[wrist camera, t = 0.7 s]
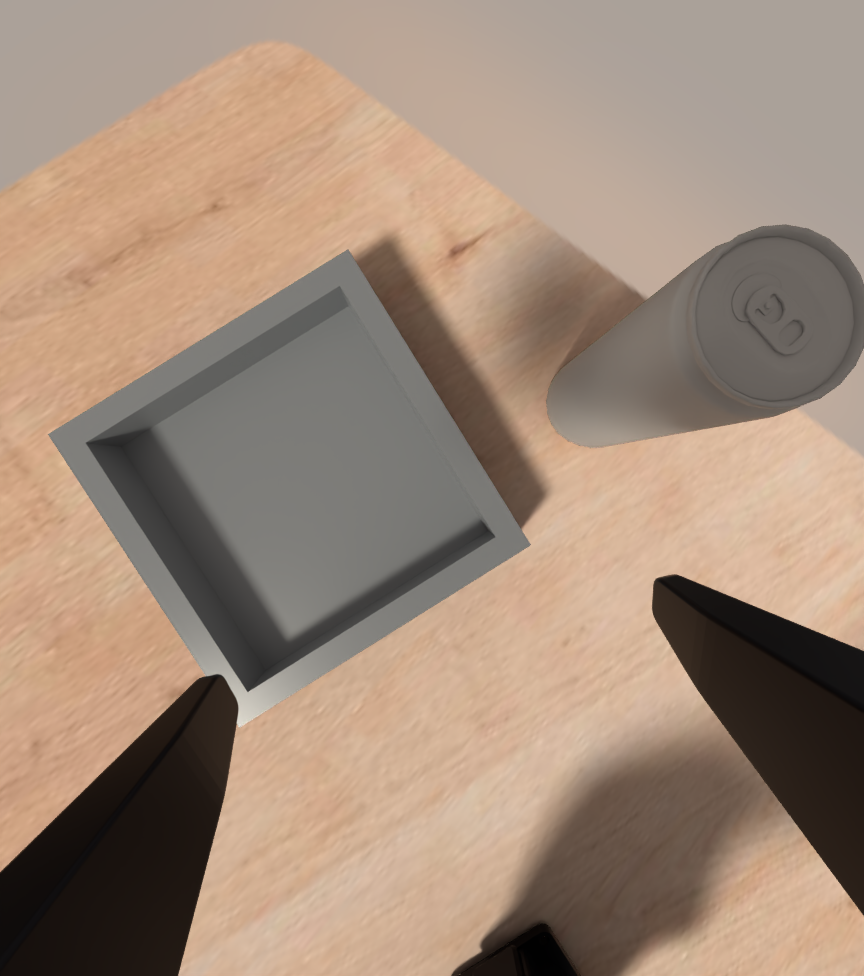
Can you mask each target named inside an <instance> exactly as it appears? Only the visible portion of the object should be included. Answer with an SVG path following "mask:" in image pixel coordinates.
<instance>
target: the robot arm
mask: <svg viewBox="0 0 864 976" xmlns="http://www.w3.org/2000/svg"><path fill="white" fill-rule="evenodd" d="M652 611H653V615H654V618H655V620H656V622H657V624H658V625H659V627H660V629H661V630H662V632H663V634H664V635H665V637H666V639H667V640H668V642H669V644H670V645H671V647H672V649H673V650H674V652H675V654H676V655H677V657H678V659H679V660H680V662H681V664H682V665H683V667H684V669H685V670H686V672H687V674H688V675H689V677H690V679H691V680H692V682H693V683H694V685H695V687H696V688H697V690H698V691H699V693H700V694H701V695H702V697H703V698H704V700H705V701H706V702H707V704H708V705H709V706H710V708H711V709H712V711H713V712H714V713H715V715H716V716H717V717H718V719H719V720H720V721H721V723H722V724H723V725H724V727H725V728H726V730H727V731H728V732H729V734H730V735H731V736H732V738H733V739H734V740H735V742H736V743H737V744H738V746H739V747H740V749H741V750H742V751H743V753H744V754H745V755H746V757H747V758H748V759H749V761H750V762H751V763H752V765H753V766H754V768H755V769H756V770H757V772H758V773H759V774H760V776H761V777H762V778H763V780H764V781H765V782H766V784H767V785H768V787H769V788H770V789H771V791H772V792H773V793H774V795H775V796H776V797H777V799H778V800H779V801H780V803H781V804H782V806H783V807H784V808H785V810H786V811H787V812H788V814H789V815H790V816H791V818H792V819H793V820H794V822H795V823H796V825H797V826H798V827H799V829H800V830H801V831H802V833H803V834H804V835H805V837H806V838H807V839H808V841H809V842H810V844H811V845H812V846H813V848H814V849H815V850H816V852H817V853H818V854H819V856H820V857H821V858H822V860H823V861H824V863H825V864H826V865H827V867H828V868H829V869H830V871H831V872H832V873H833V875H834V876H835V877H836V879H837V880H838V882H839V883H840V884H841V886H842V887H843V888H844V890H845V891H846V892H847V894H848V895H849V896H850V898H851V899H852V901H853V902H854V903H855V905H856V906H857V907H858V909H859V910H860V911H861V913H862V914H863V915H864V651H862V650H860V649H858V648H855V647H853V646H850V645H848V644H845V643H843V642H840V641H838V640H836V639H833V638H831V637H828V636H826V635H823V634H821V633H819V632H816V631H814V630H811V629H809V628H806V627H804V626H801V625H799V624H797V623H794V622H792V621H789V620H787V619H784V618H782V617H780V616H777V615H775V614H772V613H770V612H767V611H765V610H762V609H760V608H758V607H755V606H753V605H750V604H748V603H745V602H743V601H740V600H738V599H736V598H733V597H731V596H728V595H726V594H723V593H721V592H719V591H716V590H714V589H711V588H709V587H706V586H704V585H701V584H699V583H697V582H694V581H692V580H689V579H687V578H684V577H682V576H679V575H675V574H674V575H668V576H663V577H659V578H657V579H656V580H655V581H654V585H653V601H652ZM238 711H239V707H238V702H237V699H236V697H235V695H234V694H233V692H232V690H231V688H230V687H229V685H228V683H227V681H226V679H225V678H224V676H222V675H221V674H215V675H210V676H206V677H202V678H199V679H198V680H196V681H195V682H194V683H193V684H192V685H191V686H190V687H189V688H188V689H187V690H186V691H185V692H184V693H183V694H182V695H181V696H180V697H179V698H178V699H177V700H176V701H175V702H174V703H173V704H172V705H171V706H170V707H169V708H168V709H167V710H166V711H165V712H164V713H163V714H162V715H161V716H159V717H158V718H157V719H156V720H155V721H154V722H153V723H152V724H151V725H150V726H149V727H148V728H147V729H146V730H145V731H144V732H143V733H142V734H141V735H140V736H139V737H138V738H137V739H136V740H135V741H134V742H133V743H132V744H131V745H130V746H129V747H128V748H127V749H126V750H125V751H124V752H123V753H122V754H121V755H120V756H119V757H118V758H117V759H116V760H115V761H114V762H112V763H111V764H110V765H109V766H108V767H107V768H106V769H105V770H104V771H103V772H102V773H101V774H100V775H99V776H98V777H97V778H96V779H95V780H94V781H93V782H92V783H91V784H90V785H89V786H88V787H87V788H86V789H85V790H84V791H83V792H82V793H81V794H80V795H79V796H78V797H77V798H76V799H75V800H74V801H73V802H72V803H71V804H70V805H69V806H67V807H66V808H65V809H64V810H63V811H62V812H61V813H60V814H59V815H58V816H57V817H56V818H55V819H54V820H53V821H52V822H51V823H50V824H49V825H48V826H47V827H46V828H45V829H44V830H43V831H42V832H41V833H40V834H39V835H38V836H37V837H36V838H35V839H34V840H33V841H32V842H31V843H30V844H29V845H28V846H27V847H26V848H25V849H23V850H22V851H21V852H20V853H19V854H18V855H17V856H16V857H15V858H14V859H13V860H12V861H11V862H10V863H9V864H8V865H7V866H6V867H5V868H4V869H3V870H2V871H1V872H0V976H178V974H179V970H180V966H181V962H182V958H183V955H184V951H185V947H186V943H187V939H188V935H189V931H190V928H191V924H192V920H193V916H194V912H195V908H196V905H197V901H198V897H199V893H200V889H201V885H202V882H203V878H204V874H205V870H206V866H207V862H208V858H209V855H210V851H211V847H212V843H213V839H214V835H215V832H216V828H217V824H218V820H219V816H220V812H221V808H222V804H223V800H224V796H225V791H226V786H227V780H228V774H229V768H230V762H231V755H232V749H233V743H234V737H235V731H236V725H237V718H238ZM543 936H545V937H543ZM458 976H581V975H580V974H579V972H578V971H577V969H576V968H575V966H574V964H573V963H572V961H571V960H570V958H569V957H568V955H567V953H566V952H565V950H564V949H563V947H562V946H561V944H560V942H559V941H558V939H557V938H556V936H555V935H554V933H553V931H552V930H551V928H550V927H549V926H548V925H546V924H539V925H537V926H535V927H534V928H532V929H531V930H529V931H528V932H526V933H524V934H523V935H521V936H520V937H518V938H517V939H515V940H513V941H512V942H510V943H509V944H507V945H505V946H504V947H502V948H501V949H499V950H498V951H496V952H494V953H493V954H491V955H490V956H488V957H487V958H485V959H483V960H482V961H480V962H479V963H477V964H476V965H474V966H472V967H471V968H469V969H468V970H466V971H465V972H463V973H461V974H460V975H458Z"/></svg>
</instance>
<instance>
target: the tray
mask: <svg viewBox="0 0 864 976" xmlns="http://www.w3.org/2000/svg"><path fill="white" fill-rule="evenodd" d="M48 435H49V436H50V438H51V440H52V441H53V443H54V444H55V446H56V447H57V449H58V450H59V452H60V453H61V455H62V456H63V458H64V459H65V461H66V463H67V464H68V466H69V467H70V469H71V470H72V472H73V473H74V475H75V476H76V478H77V479H78V481H79V482H80V484H81V486H82V487H83V489H84V490H85V492H86V493H87V495H88V496H89V498H90V499H91V501H92V502H93V504H94V505H95V507H96V508H97V510H98V512H99V513H100V515H101V516H102V518H103V519H104V521H105V522H106V524H107V525H108V527H109V528H110V530H111V531H112V533H113V535H114V536H115V538H116V539H117V541H118V542H119V544H120V545H121V547H122V548H123V550H124V551H125V553H126V554H127V556H128V558H129V559H130V561H131V562H132V564H133V565H134V567H135V568H136V570H137V571H138V573H139V574H140V576H141V577H142V579H143V580H144V582H145V584H146V585H147V587H148V588H149V590H150V591H151V593H152V594H153V596H154V597H155V599H156V600H157V602H158V603H159V605H160V607H161V608H162V610H163V611H164V613H165V614H166V616H167V617H168V619H169V620H170V622H171V623H172V625H173V626H174V628H175V629H176V631H177V633H178V634H179V636H180V637H181V639H182V640H183V642H184V643H185V645H186V646H187V648H188V649H189V651H190V652H191V654H192V656H193V657H194V659H195V660H196V662H197V663H198V665H199V666H200V668H201V669H202V671H203V672H204V674H205V675H206V676H210V675H215V674H221V675H222V676H224V678H225V679H226V681H227V683H228V685H229V687H230V688H231V690H232V692H233V694H234V695H235V697H236V699H237V702H238V707H239V711H238V718H237V724H238V726H239V728H240V727H241V726H243V725H244V724H246V723H248V722H249V721H251V720H252V719H254V718H256V717H257V716H259V715H260V714H262V713H264V712H265V711H267V710H268V709H270V708H272V707H273V706H275V705H276V704H278V703H280V702H281V701H283V700H284V699H286V698H288V697H289V696H291V695H292V694H294V693H296V692H297V691H299V690H300V689H302V688H304V687H305V686H307V685H308V684H310V683H311V682H313V681H315V680H316V679H318V678H319V677H321V676H323V675H324V674H326V673H327V672H329V671H331V670H332V669H334V668H335V667H337V666H339V665H340V664H342V663H343V662H345V661H347V660H348V659H350V658H351V657H353V656H355V655H356V654H358V653H359V652H361V651H363V650H364V649H366V648H367V647H369V646H371V645H372V644H374V643H375V642H377V641H379V640H380V639H382V638H383V637H385V636H386V635H388V634H390V633H391V632H393V631H394V630H396V629H398V628H399V627H401V626H402V625H404V624H406V623H407V622H409V621H410V620H412V619H414V618H415V617H417V616H418V615H420V614H422V613H423V612H425V611H426V610H428V609H430V608H431V607H433V606H434V605H436V604H438V603H439V602H441V601H442V600H444V599H446V598H447V597H449V596H450V595H452V594H454V593H455V592H457V591H458V590H460V589H461V588H463V587H465V586H466V585H468V584H469V583H471V582H473V581H474V580H476V579H477V578H479V577H481V576H482V575H484V574H485V573H487V572H489V571H490V570H492V569H493V568H495V567H497V566H498V565H500V564H501V563H503V562H505V561H506V560H508V559H509V558H511V557H513V556H514V555H516V554H517V553H519V552H521V551H522V550H524V549H525V548H527V547H529V546H530V545H531V544H530V543H529V541H528V540H527V538H526V536H525V535H524V533H523V532H522V530H521V528H520V527H519V525H518V523H517V522H516V520H515V519H514V517H513V515H512V514H511V512H510V510H509V509H508V507H507V506H506V504H505V502H504V501H503V499H502V498H501V496H500V494H499V493H498V491H497V489H496V488H495V486H494V485H493V483H492V481H491V480H490V478H489V477H488V475H487V473H486V472H485V470H484V468H483V467H482V465H481V464H480V462H479V460H478V459H477V457H476V455H475V454H474V452H473V451H472V449H471V447H470V446H469V444H468V443H467V441H466V439H465V438H464V436H463V434H462V433H461V431H460V430H459V428H458V426H457V425H456V423H455V422H454V420H453V418H452V417H451V415H450V413H449V412H448V410H447V409H446V407H445V405H444V404H443V402H442V400H441V399H440V397H439V396H438V394H437V392H436V391H435V389H434V388H433V386H432V384H431V383H430V381H429V379H428V378H427V376H426V375H425V373H424V371H423V370H422V368H421V366H420V365H419V363H418V362H417V360H416V358H415V357H414V355H413V354H412V352H411V350H410V349H409V347H408V345H407V344H406V342H405V341H404V339H403V337H402V336H401V334H400V333H399V331H398V329H397V328H396V326H395V324H394V323H393V321H392V320H391V318H390V316H389V315H388V313H387V311H386V310H385V308H384V307H383V305H382V303H381V302H380V300H379V299H378V297H377V295H376V294H375V292H374V290H373V289H372V287H371V286H370V284H369V282H368V281H367V279H366V278H365V276H364V274H363V273H362V271H361V269H360V268H359V266H358V265H357V263H356V261H355V260H354V258H353V256H352V255H351V253H350V252H349V250H346V251H345V252H343V253H341V254H340V255H338V256H336V257H335V258H333V259H332V260H330V261H328V262H327V263H325V264H323V265H322V266H320V267H319V268H317V269H315V270H314V271H312V272H311V273H309V274H307V275H306V276H304V277H302V278H301V279H299V280H298V281H296V282H294V283H293V284H291V285H289V286H288V287H286V288H285V289H283V290H281V291H280V292H278V293H276V294H275V295H273V296H272V297H270V298H268V299H267V300H265V301H263V302H262V303H260V304H259V305H257V306H255V307H254V308H252V309H251V310H249V311H247V312H246V313H244V314H242V315H241V316H239V317H238V318H236V319H234V320H233V321H231V322H229V323H228V324H226V325H225V326H223V327H221V328H220V329H218V330H216V331H215V332H213V333H212V334H210V335H208V336H207V337H205V338H203V339H202V340H200V341H199V342H197V343H195V344H194V345H192V346H191V347H189V348H187V349H186V350H184V351H182V352H181V353H179V354H178V355H176V356H174V357H173V358H171V359H169V360H168V361H166V362H165V363H163V364H161V365H160V366H158V367H156V368H155V369H153V370H152V371H150V372H148V373H147V374H145V375H143V376H142V377H140V378H139V379H137V380H135V381H134V382H132V383H131V384H129V385H127V386H126V387H124V388H122V389H121V390H119V391H118V392H116V393H114V394H113V395H111V396H109V397H108V398H106V399H105V400H103V401H101V402H100V403H98V404H96V405H95V406H93V407H92V408H90V409H88V410H87V411H85V412H83V413H82V414H80V415H79V416H77V417H75V418H74V419H72V420H71V421H69V422H67V423H66V424H64V425H62V426H61V427H59V428H58V429H56V430H54V431H53V432H51V433H49V434H48Z"/></svg>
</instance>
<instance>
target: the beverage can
mask: <svg viewBox="0 0 864 976" xmlns="http://www.w3.org/2000/svg"><path fill="white" fill-rule="evenodd" d="M863 348H864V284H863V281H862V278H861V275H860V274H859V272H858V270H857V269H856V267H855V266H854V264H853V263H852V261H851V260H850V258H849V257H848V255H847V254H846V253H845V252H844V251H842V250H841V249H840V248H839V247H838V246H837V245H836V244H834V243H833V242H832V241H831V240H830V239H828V238H826V237H824V236H822V235H820V234H818V233H816V232H814V231H812V230H810V229H807V228H800V227H796V226H790V225H775V226H763V227H759V228H757V229H754V230H751V231H749V232H746V233H744V234H741V235H738V236H737V237H736V238H734V239H733V240H731V241H730V242H727V243H724V244H721V245H719V246H716V247H715V248H713V249H712V250H711V251H709V252H708V253H706V254H705V255H704V256H702V257H701V258H699V259H698V260H697V261H695V262H694V263H692V264H691V265H690V266H689V267H688V268H686V269H685V270H684V271H682V272H681V273H680V274H679V275H677V276H676V277H675V278H674V279H672V280H671V281H670V282H669V283H667V284H666V285H665V286H664V287H662V288H661V289H660V290H659V291H658V292H656V293H655V294H654V295H653V296H651V297H650V298H649V299H648V300H646V301H645V302H644V303H643V304H641V305H640V306H639V307H638V308H636V309H635V310H634V311H633V312H631V313H630V314H629V315H628V316H626V317H625V318H624V319H623V320H621V321H620V322H619V323H618V324H616V325H615V326H614V327H613V328H611V329H610V330H609V331H608V332H606V333H605V334H604V335H603V336H601V337H600V338H599V339H598V340H596V341H595V342H594V343H593V344H591V345H590V346H589V347H588V348H586V349H585V350H584V351H583V352H581V353H580V354H579V355H578V356H576V357H575V358H574V359H573V360H571V361H570V362H569V363H568V364H566V365H565V366H564V367H563V368H561V369H560V371H559V372H558V373H557V374H556V376H555V377H554V378H553V380H552V382H551V384H550V387H549V389H548V394H547V400H546V404H547V414H548V416H549V419H550V422H551V424H552V426H553V427H554V429H555V430H556V431H557V433H558V434H559V435H561V436H562V437H563V438H565V439H566V440H568V441H569V442H572V443H574V444H577V445H579V446H584V447H588V448H600V447H607V446H612V445H618V444H624V443H629V442H635V441H640V440H646V439H651V438H657V437H663V436H668V435H674V434H679V433H685V432H691V431H696V430H702V429H708V428H713V427H719V426H725V425H730V424H736V423H741V422H747V421H753V420H758V419H764V418H769V417H774V416H777V415H780V414H782V413H785V412H788V411H790V410H793V409H795V408H798V407H800V406H801V405H804V404H807V403H809V402H812V401H814V400H817V399H820V398H822V397H823V396H824V395H826V394H827V393H829V392H830V391H831V390H833V389H834V388H835V387H837V386H838V385H840V384H841V383H842V381H843V380H844V379H845V378H846V377H847V375H848V374H849V373H850V372H851V370H852V369H853V368H854V367H855V366H856V363H857V361H858V359H859V357H860V355H861V352H862V350H863Z"/></svg>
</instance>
